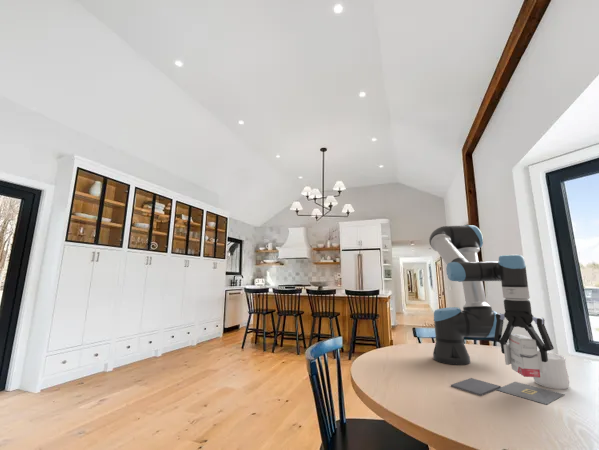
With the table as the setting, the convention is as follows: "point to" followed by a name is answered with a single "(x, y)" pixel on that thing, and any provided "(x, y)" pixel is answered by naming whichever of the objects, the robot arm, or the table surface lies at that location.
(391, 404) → the table surface
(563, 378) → the cup
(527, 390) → the slate mat
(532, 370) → the ink box
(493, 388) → the felt pad
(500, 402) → the table surface
